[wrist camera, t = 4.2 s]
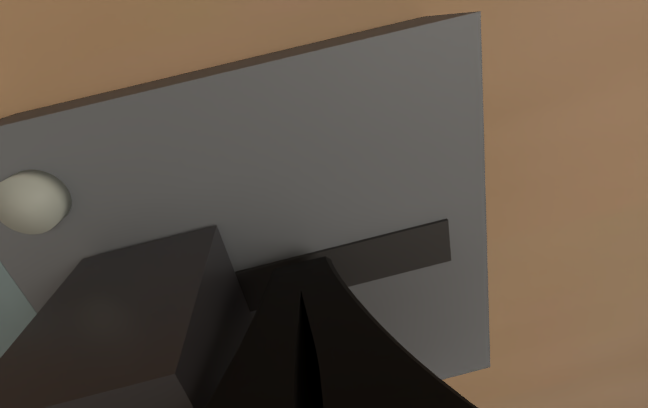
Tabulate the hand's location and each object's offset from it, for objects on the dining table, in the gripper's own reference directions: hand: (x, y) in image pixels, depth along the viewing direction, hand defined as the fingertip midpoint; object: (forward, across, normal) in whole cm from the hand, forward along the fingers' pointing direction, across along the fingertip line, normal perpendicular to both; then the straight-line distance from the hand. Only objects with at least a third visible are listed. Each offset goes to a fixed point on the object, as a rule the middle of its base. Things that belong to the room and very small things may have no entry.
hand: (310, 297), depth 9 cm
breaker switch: (+1, +3, 0) cm, 3 cm away
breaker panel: (+4, +1, 0) cm, 4 cm away
